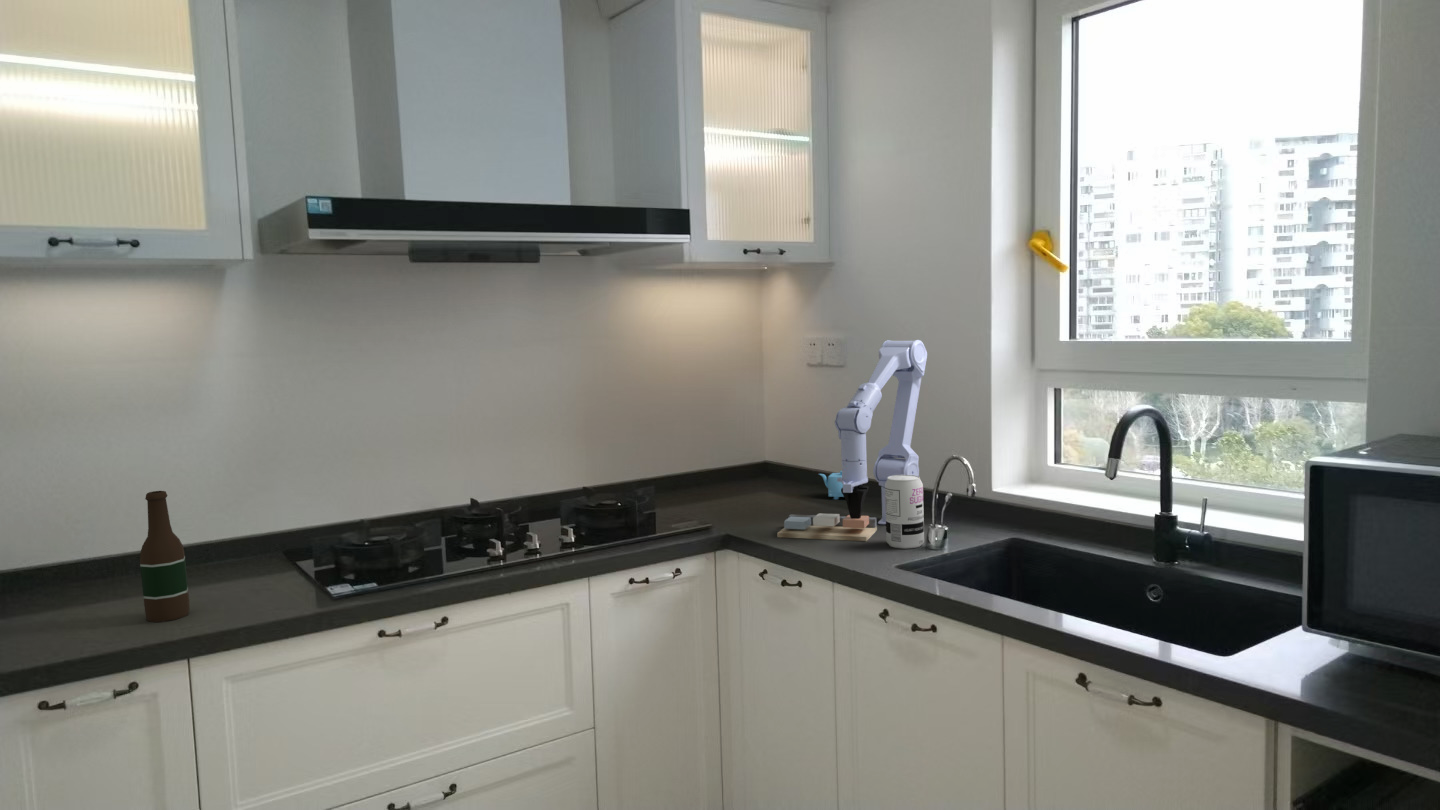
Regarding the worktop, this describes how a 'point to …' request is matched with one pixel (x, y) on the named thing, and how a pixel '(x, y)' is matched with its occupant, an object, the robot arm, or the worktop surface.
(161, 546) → the beer bottle
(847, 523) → the key terracotta
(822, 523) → the key middle
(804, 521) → the key slate
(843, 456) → the robot arm
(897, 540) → the supplement can
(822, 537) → the keypad base
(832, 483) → the teapot
